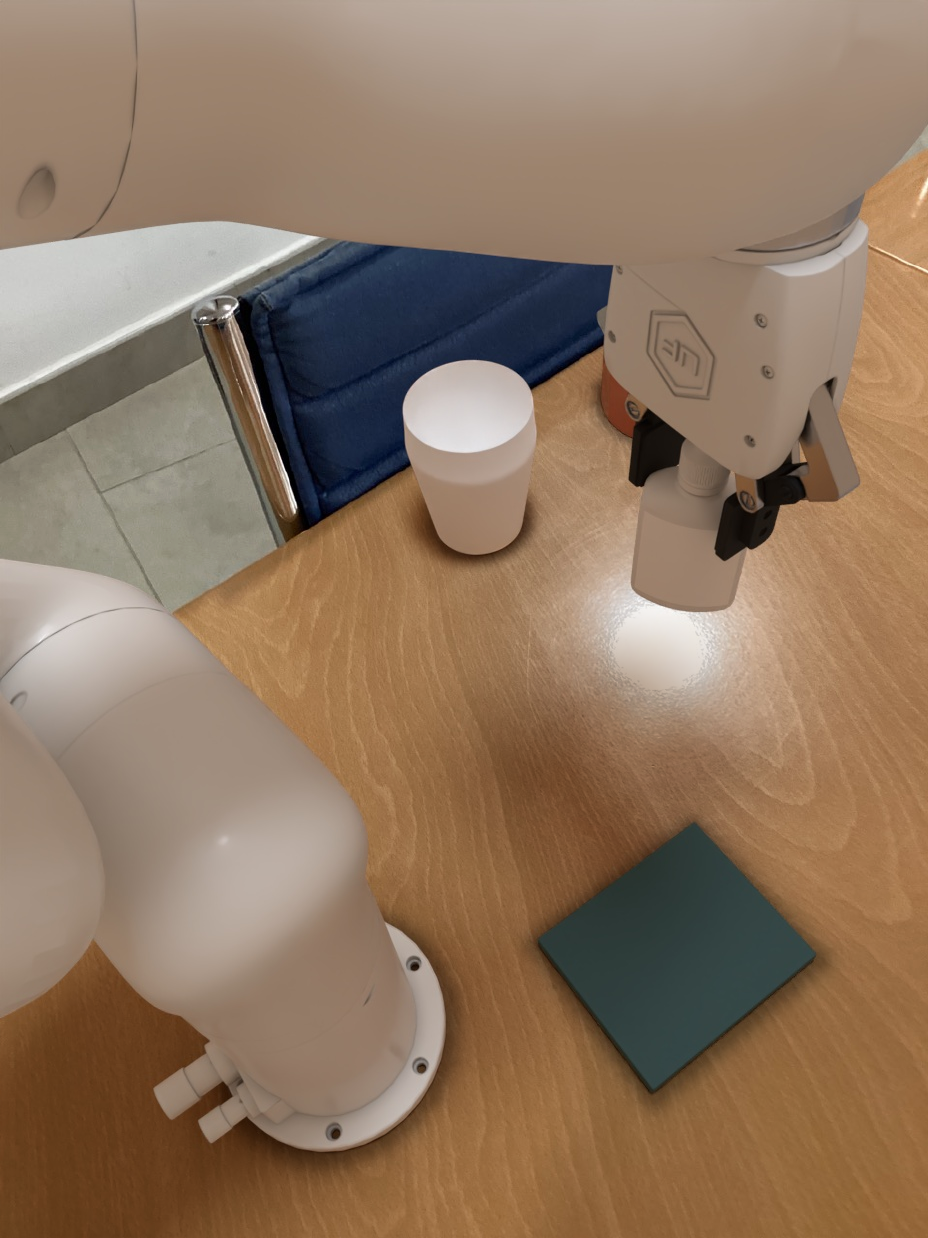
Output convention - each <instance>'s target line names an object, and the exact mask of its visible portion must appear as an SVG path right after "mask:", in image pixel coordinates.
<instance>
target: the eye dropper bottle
mask: <svg viewBox="0 0 928 1238" xmlns="http://www.w3.org/2000/svg"><path fill="white" fill-rule="evenodd" d="M731 472H732V471H730V470H729V469H727V468H725V467H724V466H722V465H721V464H719V463H718V462H717V461H715V460H714V459H713V458H711V457H710V456H709V455H707V454H706V453H705V452H703V451H702V450H701V449H699V448H698V447H697V446H696V445H694V444H693V443H692V442H690V441H689V440H688V439H685V441H684V442H683V444H682V448H681V455H680V461H679V465H677V466H675V467H669V468H665V469H662V470H658V471H656V472H654V473H652V474H650V475H649V477H648V478H647V479H646V482H645V484H644V486H643V487H642V493H641V497H640V503H639V508H638V515H637V524H636V531H635V540H634V548H633V557H632V566H631V574H630V588H631V589H632V590H633V591H634V593H635V594H636V595H638V596H639V597H641V598H643V599H645V600H646V601H648V602H651V603H653V604H655V605H657V606H661V607H663V608H667V609H671V610H675V611H680V612H688V613H712V612H719V611H720V612H721V611H724V610H726V609H728V608H730V607H731V606H732V605H733V603H734V601H735V599H736V595H737V591H738V587H739V584H740V579H741V575H742V572H743V568H744V563H745V559H746V556H747V551H748V548H747V547H746V548H745V549H743V550H742V551H740V552H739V553H737V554H736V555H734V556H733V557H731V558H730V559H728V560H727V561H723V560H721V559H720V558H719V557H718V556H717V555H716V554H715V550H714V547H715V542H716V537H717V533H718V528H719V523H720V519H721V514H722V509H723V505H724V502H725V500H726V499H727V498H728V497H729V496H730V495H732V494H733V493H735V492H736V481H735V475H734V474H732V473H731Z"/></svg>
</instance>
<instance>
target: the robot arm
mask: <svg viewBox="0 0 928 1238" xmlns="http://www.w3.org/2000/svg"><path fill="white" fill-rule="evenodd" d="M927 126H928V0H0V251H4V250H9V249H16V248H23V247H30V246H34V245H42V244H48V243H56V242H61V241H62V242H63V241H71V240H78V239H84V238H89V237H90V238H91V237H96V236H97V237H98V236H103V235H107V234H108V235H110V234H115V233H116V234H117V233H122V232H129V231H135V230H141V229H147V228H154V227H162V226H163V227H164V226H170V225H177V224H190V223H209V222H223V223H225V222H226V223H227V222H228V223H236V224H244V225H250V226H257V227H261V228H268V229H272V230H278V231H284V232H289V233H293V234H294V233H295V234H301V235H305V236H311V237H317V238H324V239H330V240H335V241H343V242H352V243H359V244H367V245H377V246H390V247H403V248H412V249H413V248H415V249H424V250H425V249H426V250H435V251H436V250H437V251H450V252H459V253H468V254H478V255H484V256H485V255H486V256H496V257H503V258H514V259H521V260H522V259H524V260H533V261H542V262H552V263H553V262H555V263H563V264H564V263H565V264H579V265H581V264H582V265H592V266H593V265H595V266H612V272H611V279H610V286H609V292H608V297H607V305H605V306H604V307H602V308H601V309H599V310H598V311H597V312H596V320H597V323H598V325H599V327H600V329H601V331H602V333H603V335H604V336H603V351H604V358H605V363H606V366H607V368H608V370H609V372H610V373H611V375H612V376H613V377H614V379H615V380H616V381H617V382H618V383H619V384H620V385H621V386H622V387H623V388H624V389H625V390H627V391H628V393H629V394H628V396H627V398H626V400H625V409H626V412H627V414H628V415H629V417H630V418H631V419H632V420H634V421H635V426H634V429H633V438H632V437H631V439H632V440H631V448H630V449H631V450H630V459H629V469H628V477H627V478H628V481H629V483H631V484H632V485H633V486H634V487H635V488H639V487H640V488H644V484H645V482H646V479H647V478H648V477H649V475H650V474H652V473H654V472H656V471H658V470H662V469H665V468H669V467H675V466H679V461H680V455H681V448H682V444H683V442H684V441H685V439H688V440H689V441H690V442H692V443H693V444H694V445H696V446H697V447H698V448H699V449H701V450H702V451H703V452H705V453H706V454H707V455H709V456H710V457H711V458H713V459H714V460H715V461H717V462H718V463H719V464H721V465H722V466H724V467H725V468H727V469H729V470H730V471H731V472H732V473H734V476H735V481H736V492H735V493H733V494H732V495H730V496H729V497H728V498H727V499H726V500H725V502H724V505H723V509H722V514H721V519H720V523H719V528H718V533H717V537H716V542H715V547H714V550H715V554H716V555H717V556H718V557H719V558H720V559H721V560H723V561H727V560H728V559H730V558H731V557H733V556H734V555H736V554H737V553H739V552H740V551H742V550H743V549H745V548H746V547H747V549H748V550H751V551H752V550H756V549H757V548H758V547H760V546H761V545H763V544H764V543H765V542H767V540H769V538H770V537H771V535H772V534H773V532H774V530H775V526H776V523H777V519H778V515H779V512H780V508H781V506H788V505H795V504H797V503H799V502H800V501H808V503H835V502H838V501H840V500H841V499H842V498H844V497H845V496H847V495H848V494H850V493H851V492H853V491H854V490H855V489H857V488H858V487H859V486H860V484H861V477H860V474H859V471H858V469H857V466H856V463H855V461H854V458H853V454H852V451H851V449H850V446H849V444H848V441H847V438H846V434H845V432H844V430H843V427H842V424H841V421H840V419H839V413H840V410H841V406H842V404H843V401H844V398H845V395H846V390H847V387H848V383H849V379H850V376H851V373H852V367H853V362H854V358H855V353H856V348H857V344H858V340H859V339H858V338H859V333H860V328H861V322H862V317H863V310H864V302H865V296H866V295H865V294H866V288H867V287H866V286H867V275H868V274H867V273H868V262H869V238H870V237H869V236H870V234H869V233H870V229H869V226H868V224H866V222H865V221H863V220H862V219H861V217H860V214H861V210H862V205H863V203H864V200H865V195H866V193H867V191H869V190H870V189H871V188H873V187H874V186H875V185H876V184H877V183H879V182H880V181H881V180H882V179H883V178H884V177H885V176H886V175H887V174H888V173H889V172H890V171H892V169H894V167H895V166H897V164H898V163H899V162H900V161H901V160H902V159H903V157H904V156H906V154H907V153H908V151H910V149H911V148H912V146H913V145H914V144H916V141H918V139H919V138H920V137H921V136H922V134H923V133H924V131H925V130H926V128H927ZM800 448H801V450H802V453H803V455H804V459H805V461H802V462H801V451H800ZM369 849H370V848H369V835H368V829H367V826H366V823H365V820H364V817H363V815H362V813H361V811H360V809H359V808H358V806H357V804H356V802H355V800H354V799H353V798H352V796H351V794H350V793H349V791H348V790H347V789H346V788H345V787H344V786H343V784H342V783H341V782H340V781H339V779H338V778H337V777H336V775H335V774H334V773H333V772H332V771H331V770H330V768H328V767H327V765H325V763H324V762H323V761H322V760H321V759H320V758H319V757H318V755H316V753H314V751H313V750H312V749H311V748H310V747H309V746H308V745H307V744H306V743H305V742H304V741H303V740H302V739H301V738H300V737H299V736H298V735H297V734H296V733H295V732H294V731H293V730H292V729H291V728H290V727H289V726H288V725H287V723H285V722H284V721H283V719H281V718H280V717H279V716H278V715H277V714H276V713H275V712H274V711H273V710H272V709H271V707H269V706H268V705H267V704H266V702H264V701H263V700H262V699H261V698H260V697H259V696H258V695H257V694H256V693H255V692H254V691H253V690H252V689H251V688H250V687H249V685H247V684H246V683H244V682H243V680H240V679H239V678H238V677H237V676H236V675H235V674H234V673H233V672H232V671H231V670H230V669H229V668H228V667H227V666H226V665H225V664H224V663H223V662H222V661H221V660H220V659H219V658H218V657H217V656H216V655H215V654H214V653H213V652H212V651H211V650H210V649H209V648H208V647H207V646H206V645H205V644H204V643H203V642H202V641H200V639H199V638H198V637H197V636H196V635H195V634H194V633H193V632H192V631H191V630H190V629H189V628H188V627H187V626H186V625H185V624H184V623H183V622H182V621H181V620H179V619H178V617H176V616H175V615H174V614H173V613H172V612H171V611H169V610H168V608H166V607H165V606H164V605H163V604H162V603H161V602H159V601H158V600H156V599H155V597H153V596H151V595H150V594H149V593H147V592H145V591H144V590H142V589H140V588H139V587H137V586H135V585H132V584H130V583H128V582H126V581H123V580H120V579H117V578H114V577H111V576H108V575H104V574H100V573H97V572H93V571H92V572H90V571H87V570H82V569H77V568H76V569H75V568H70V567H64V566H63V567H62V566H55V565H49V564H42V563H34V562H27V561H21V560H14V559H6V558H0V1019H2V1018H4V1017H6V1016H9V1015H10V1014H12V1013H14V1012H16V1011H18V1010H20V1009H21V1008H24V1007H25V1006H27V1005H29V1004H30V1003H32V1002H34V1001H35V1000H37V999H39V998H41V997H42V996H43V995H44V994H46V993H47V992H49V991H50V990H51V989H52V988H53V987H55V986H56V985H57V984H59V982H60V981H61V980H62V979H63V978H65V976H66V975H68V974H69V972H70V971H71V970H72V969H73V968H75V966H76V965H77V964H78V963H79V961H80V960H81V959H82V957H84V954H85V953H86V952H87V950H88V949H89V947H90V945H91V943H92V941H94V942H95V943H96V945H97V946H98V947H99V950H101V951H102V953H103V954H104V955H105V956H106V958H107V959H108V960H109V961H110V963H111V964H112V965H113V967H114V968H115V969H116V970H117V971H118V973H119V974H120V975H121V976H122V977H123V979H124V980H125V981H126V982H127V983H128V984H129V986H130V987H132V990H134V991H135V992H136V993H137V994H138V995H139V996H140V997H141V998H142V999H143V1000H145V1001H146V1002H147V1003H149V1004H150V1005H151V1006H152V1007H154V1008H156V1009H158V1010H160V1011H162V1012H164V1013H167V1014H169V1015H170V1014H171V1015H173V1016H179V1017H181V1018H182V1020H184V1021H185V1022H186V1023H188V1024H189V1025H190V1026H191V1027H192V1028H193V1029H195V1030H196V1031H197V1032H198V1033H200V1034H201V1035H202V1036H203V1037H205V1039H207V1040H208V1042H207V1043H205V1044H204V1045H203V1046H204V1050H205V1053H204V1054H203V1055H201V1056H199V1057H198V1058H197V1059H195V1060H194V1061H192V1062H191V1063H190V1064H189V1065H186V1066H185V1067H184V1066H182V1067H181V1068H179V1069H178V1070H177V1071H175V1072H173V1073H172V1074H171V1075H169V1076H168V1077H167V1078H165V1079H164V1080H162V1081H160V1082H159V1083H158V1084H157V1085H155V1086H154V1087H153V1089H152V1090H153V1093H154V1096H155V1098H156V1101H157V1103H158V1104H159V1106H160V1108H161V1109H162V1111H163V1113H164V1114H165V1115H166V1117H167V1118H168V1119H169V1120H170V1121H173V1120H174V1119H176V1118H177V1117H178V1116H180V1115H182V1114H183V1113H184V1112H186V1111H188V1110H189V1109H190V1108H191V1107H193V1106H194V1105H195V1104H197V1103H198V1102H200V1101H202V1100H203V1097H204V1096H205V1095H207V1094H208V1093H209V1092H210V1091H212V1090H213V1089H215V1088H216V1087H217V1086H219V1085H220V1084H221V1083H223V1084H225V1086H227V1087H228V1089H229V1091H230V1093H231V1096H232V1097H230V1098H229V1099H227V1100H226V1101H225V1102H223V1103H222V1104H218V1105H217V1106H216V1107H214V1108H213V1109H211V1110H210V1111H208V1112H207V1113H206V1114H205V1115H202V1117H200V1118H198V1119H197V1122H198V1125H199V1128H200V1129H201V1130H200V1131H202V1133H203V1136H204V1137H205V1139H206V1140H207V1141H208V1142H209V1143H210V1144H213V1143H214V1142H216V1141H217V1140H218V1139H220V1138H222V1137H223V1136H224V1135H225V1134H227V1133H228V1132H229V1131H231V1130H232V1129H234V1126H235V1125H237V1124H238V1123H240V1122H241V1121H243V1119H245V1118H247V1119H248V1120H249V1121H250V1122H251V1123H253V1124H254V1125H255V1126H256V1127H257V1128H259V1129H260V1130H261V1131H263V1132H264V1133H265V1134H266V1135H268V1136H270V1137H271V1138H272V1139H274V1140H276V1141H278V1142H280V1143H283V1144H285V1145H288V1146H290V1147H293V1148H295V1149H299V1150H304V1151H310V1152H311V1151H312V1152H317V1153H325V1152H340V1151H347V1150H351V1149H353V1148H357V1147H361V1146H364V1145H366V1144H368V1143H371V1142H372V1141H375V1140H376V1139H379V1138H380V1137H383V1136H385V1135H387V1134H388V1133H389V1132H390V1131H391V1130H393V1129H394V1128H395V1127H397V1126H398V1125H399V1124H401V1123H402V1122H403V1121H405V1119H406V1118H407V1117H408V1116H410V1114H411V1113H412V1111H414V1109H415V1108H416V1107H417V1106H418V1105H419V1104H420V1103H421V1102H422V1099H423V1098H424V1097H425V1095H426V1093H427V1091H428V1090H429V1088H430V1087H431V1086H432V1083H433V1082H434V1079H435V1076H436V1074H437V1071H438V1069H439V1066H440V1063H441V1062H442V1057H443V1052H444V1047H445V1042H446V1038H447V1036H446V1035H447V1012H446V1007H445V1001H444V995H443V991H442V988H441V986H440V982H439V980H438V976H437V975H436V973H435V971H434V969H433V967H432V965H431V963H430V960H429V958H427V956H426V955H425V954H424V953H423V951H422V949H421V948H420V947H419V946H418V944H417V943H416V942H415V941H413V940H412V939H411V937H409V936H408V935H406V934H405V933H404V932H403V931H402V930H401V929H399V928H397V927H396V926H393V925H392V924H390V923H388V922H386V921H385V919H384V917H383V914H382V912H381V909H380V907H379V904H378V902H377V899H376V897H375V895H374V893H373V891H372V889H371V887H370V884H369V881H368V879H367V876H366V875H367V868H368V860H369ZM414 965H417V966H418V969H417V970H412V967H413V966H414ZM420 1066H425V1070H424V1072H422V1073H421V1072H419V1070H418V1069H419V1067H420ZM337 1130H338V1131H339V1132H340V1133H339V1134H340V1135H339V1136H338V1138H333V1133H334V1132H335V1131H337Z"/></svg>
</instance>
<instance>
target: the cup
mask: <svg viewBox="0 0 928 1238" xmlns="http://www.w3.org/2000/svg"><path fill="white" fill-rule="evenodd" d="M534 406H535V405H534V398H533V393H532V391H531V388H530V386H529V384H528V383H527V381H525V379H524V378H523V377H522V376H520V374H518V373H517V372H516V371H514V370H513V369H512V368H509V367H507V366H505V365H502V364H501V363H497V362H493V361H487V360H480V359H478V360H477V359H466V360H457V361H452V362H448V363H445V364H441V365H438V366H437V367H434V368H433V369H430V370H429V371H427V372H426V373H424V374H423V375H421V376H420V377H419V378H418V379H417V380H415V382H414V383H413V384H412V385H411V386H410V388H409V389H408V390H407V393H406V394H405V396H404V399H403V403H402V418H403V429H404V431H403V432H404V446H405V450H406V455H407V457H408V460H409V462H410V465H411V467H412V470H413V473H414V476H415V478H416V481H417V483H418V486H419V489H420V491H421V495H422V497H423V500H424V502H425V505H426V507H427V510H428V513H429V516H430V518H431V521H432V523H433V525H434V529H435V531H436V534H437V536H438V537H439V540H441V541H442V542H443V544H445V545H446V546H447V547H449V548H450V549H452V550H454V551H456V552H458V553H461V554H465V555H475V556H476V555H477V556H478V555H486V554H492V553H494V552H497V551H500V550H502V549H504V548H506V547H507V546H509V545H510V544H511V543H512V542H513V541H515V539H516V538H517V537H518V535H519V534H520V532H521V530H522V526H523V523H524V517H525V511H526V504H527V500H528V492H529V488H530V481H531V475H532V470H533V465H534V464H533V463H534V458H535V451H536V446H537V437H538V436H537V435H538V432H537V425H536V424H537V423H536V419H535V408H534Z"/></svg>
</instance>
